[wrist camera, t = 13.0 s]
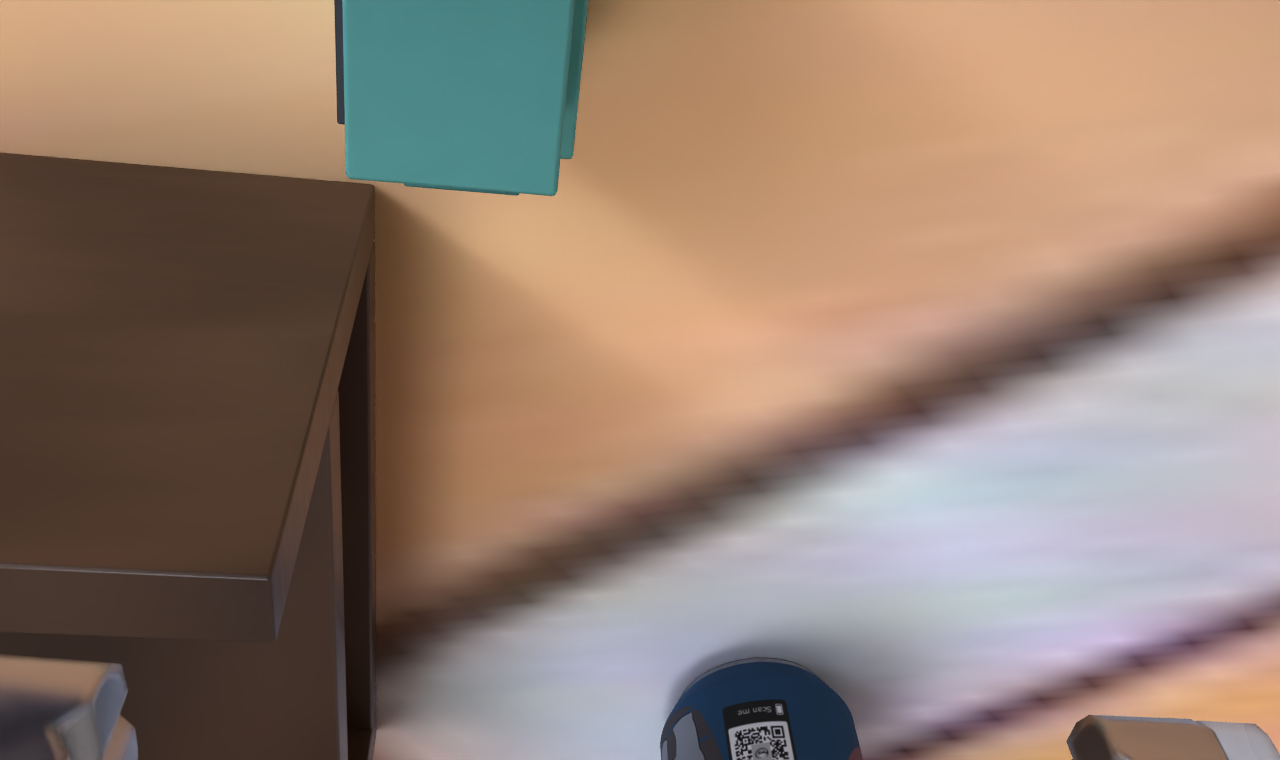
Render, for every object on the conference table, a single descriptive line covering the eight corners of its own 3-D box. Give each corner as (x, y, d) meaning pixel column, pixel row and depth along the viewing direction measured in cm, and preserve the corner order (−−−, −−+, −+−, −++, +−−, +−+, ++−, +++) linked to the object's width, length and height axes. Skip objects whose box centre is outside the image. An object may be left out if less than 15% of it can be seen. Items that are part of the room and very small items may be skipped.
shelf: (375, 183, 31) (271, 577, 19) (376, 731, 43) (314, 1162, 32) (-82, 144, 29) (-478, 542, 18) (57, 721, 42) (-124, 1166, 31)
